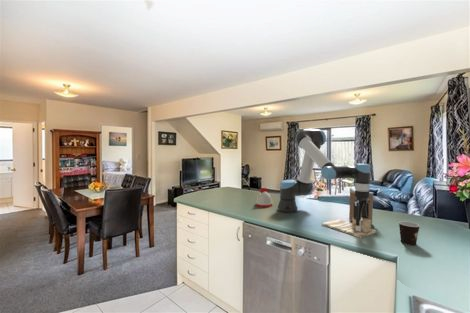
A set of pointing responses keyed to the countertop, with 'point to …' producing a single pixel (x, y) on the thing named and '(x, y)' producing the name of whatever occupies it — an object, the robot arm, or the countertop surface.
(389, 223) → the countertop surface
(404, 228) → the coffee mug
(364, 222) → the block
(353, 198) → the block
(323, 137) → the robot arm
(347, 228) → the board
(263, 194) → the kitchen timer
